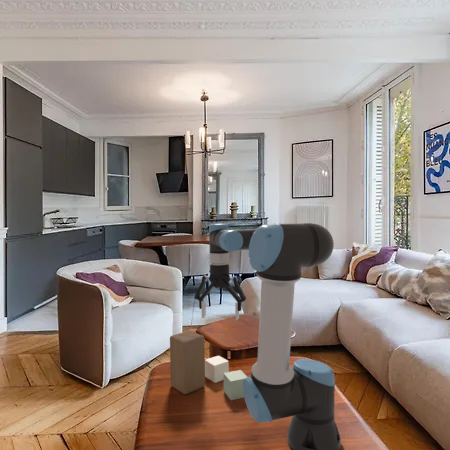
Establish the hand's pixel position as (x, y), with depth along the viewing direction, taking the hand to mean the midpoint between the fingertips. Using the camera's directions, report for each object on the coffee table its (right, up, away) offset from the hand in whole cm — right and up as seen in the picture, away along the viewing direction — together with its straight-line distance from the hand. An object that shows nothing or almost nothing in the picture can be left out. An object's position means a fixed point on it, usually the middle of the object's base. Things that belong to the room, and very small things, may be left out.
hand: (220, 318), depth 140 cm
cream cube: (-2, -26, +6) cm, 27 cm away
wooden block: (-13, -26, -1) cm, 29 cm away
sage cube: (+6, -26, -7) cm, 28 cm away
